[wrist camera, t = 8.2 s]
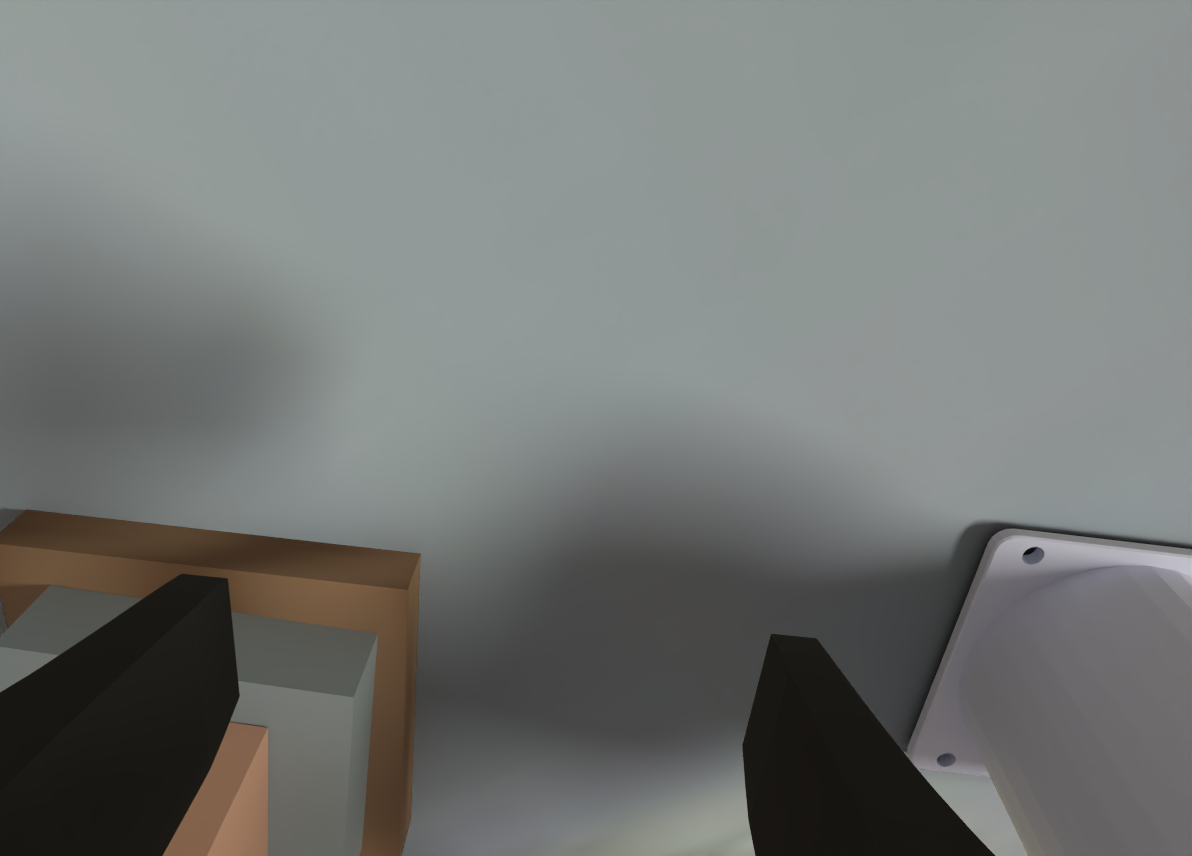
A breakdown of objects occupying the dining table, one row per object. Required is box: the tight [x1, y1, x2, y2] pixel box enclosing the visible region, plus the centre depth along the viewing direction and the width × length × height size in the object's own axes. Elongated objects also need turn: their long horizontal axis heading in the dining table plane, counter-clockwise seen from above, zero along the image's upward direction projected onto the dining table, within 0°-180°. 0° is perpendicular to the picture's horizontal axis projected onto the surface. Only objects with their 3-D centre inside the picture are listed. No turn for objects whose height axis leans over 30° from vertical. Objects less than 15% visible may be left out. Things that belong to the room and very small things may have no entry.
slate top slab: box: [0, 585, 378, 856], centre depth 22 cm, size 8×8×2 cm
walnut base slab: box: [0, 510, 421, 856], centre depth 24 cm, size 10×10×2 cm
